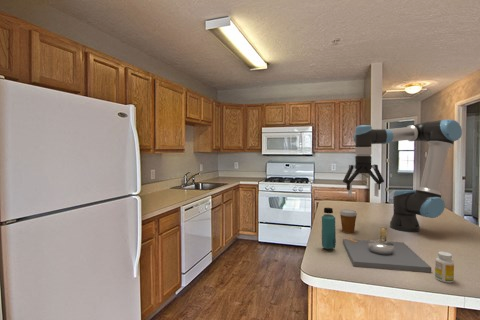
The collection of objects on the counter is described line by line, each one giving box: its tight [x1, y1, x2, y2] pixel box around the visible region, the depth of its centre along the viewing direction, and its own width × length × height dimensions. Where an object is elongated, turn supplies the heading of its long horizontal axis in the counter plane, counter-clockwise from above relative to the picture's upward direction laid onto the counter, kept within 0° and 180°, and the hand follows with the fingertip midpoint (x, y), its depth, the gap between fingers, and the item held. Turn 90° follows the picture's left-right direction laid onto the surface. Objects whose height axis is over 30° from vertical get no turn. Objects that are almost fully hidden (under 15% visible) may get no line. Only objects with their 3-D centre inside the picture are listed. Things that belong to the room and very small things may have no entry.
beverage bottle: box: [321, 207, 337, 250], centre depth 125 cm, size 6×7×20 cm
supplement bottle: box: [434, 251, 455, 284], centre depth 95 cm, size 5×5×10 cm
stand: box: [342, 238, 432, 273], centre depth 118 cm, size 28×28×2 cm
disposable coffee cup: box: [339, 208, 358, 234], centre depth 152 cm, size 10×10×12 cm
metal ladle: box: [368, 226, 394, 255], centre depth 121 cm, size 19×10×7 cm, turn 147°
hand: (363, 196), depth 136 cm, fingers open, 13 cm apart
